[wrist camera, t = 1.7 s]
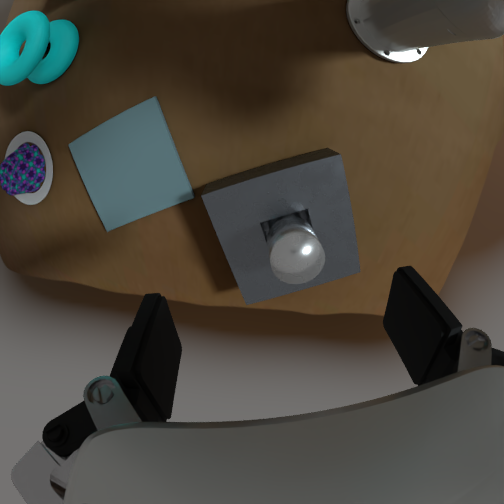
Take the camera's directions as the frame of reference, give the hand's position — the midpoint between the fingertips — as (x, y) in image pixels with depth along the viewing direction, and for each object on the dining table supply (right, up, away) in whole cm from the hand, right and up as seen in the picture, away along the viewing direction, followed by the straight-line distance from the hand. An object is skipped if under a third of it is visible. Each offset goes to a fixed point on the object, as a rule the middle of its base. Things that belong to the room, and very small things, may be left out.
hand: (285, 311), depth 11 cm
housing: (+3, +7, +27) cm, 28 cm away
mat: (-17, +13, +22) cm, 31 cm away
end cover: (+3, +6, +26) cm, 27 cm away
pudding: (-36, +16, +21) cm, 44 cm away
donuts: (-29, +30, +13) cm, 44 cm away
